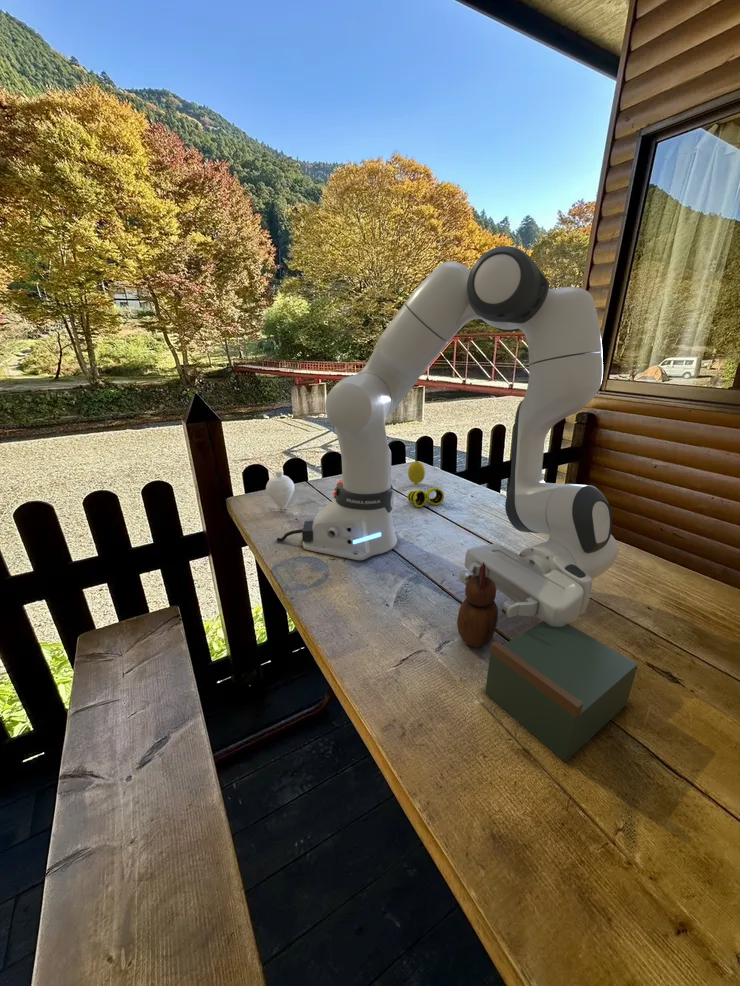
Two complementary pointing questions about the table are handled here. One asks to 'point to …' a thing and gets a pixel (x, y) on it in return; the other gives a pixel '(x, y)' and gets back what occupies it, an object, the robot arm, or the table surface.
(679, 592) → the table surface
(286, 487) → the spinning top
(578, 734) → the step stand
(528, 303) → the robot arm
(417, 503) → the opera glasses
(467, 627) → the wooden figurine
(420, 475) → the lemon
